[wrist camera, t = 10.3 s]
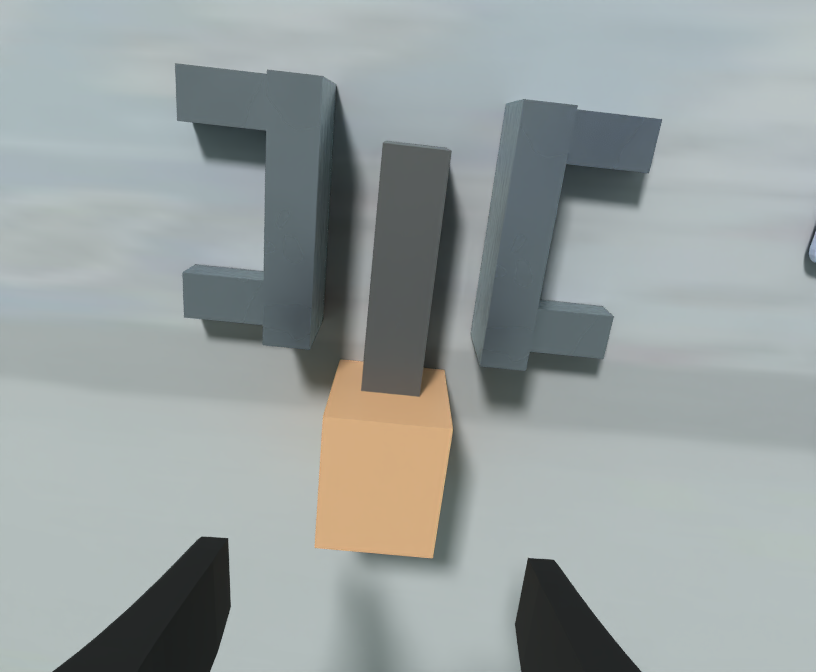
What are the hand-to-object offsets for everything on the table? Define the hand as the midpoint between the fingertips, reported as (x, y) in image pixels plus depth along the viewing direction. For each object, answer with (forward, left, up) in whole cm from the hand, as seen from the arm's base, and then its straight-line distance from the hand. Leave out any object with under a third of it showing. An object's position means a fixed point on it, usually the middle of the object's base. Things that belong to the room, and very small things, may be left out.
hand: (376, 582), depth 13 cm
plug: (0, -3, -9) cm, 10 cm away
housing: (0, -7, -9) cm, 12 cm away
